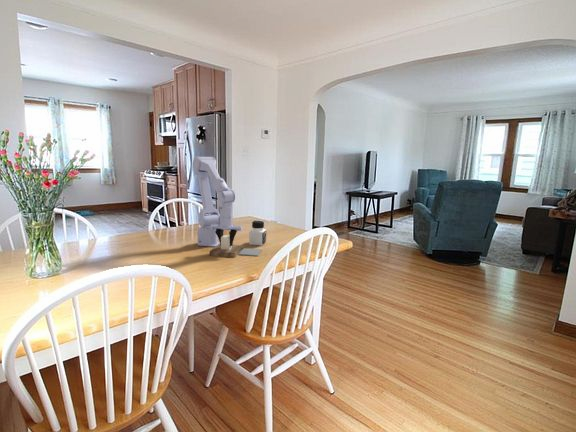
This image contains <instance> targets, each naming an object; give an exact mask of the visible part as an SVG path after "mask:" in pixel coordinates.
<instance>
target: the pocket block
mask: <svg viewBox="0 0 576 432" xmlns="http://www.w3.org/2000/svg"><path fill="white" fill-rule="evenodd" d="M242 250H243V245H240V244H233V245H232V249H231V250H221V245H220V243H219V244H218V245H217V246H215V247H212V249H211V250H209V256H213V257H214V256H215V257H227V258H236V257H237V256H238V255H239V253H240V252H241V251H242Z"/></svg>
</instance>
